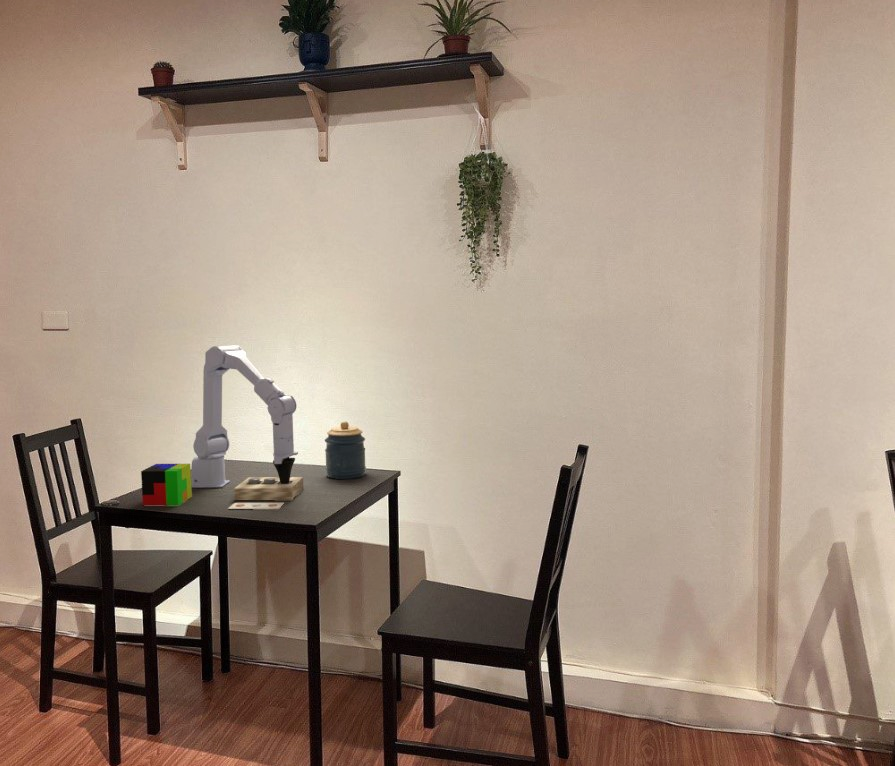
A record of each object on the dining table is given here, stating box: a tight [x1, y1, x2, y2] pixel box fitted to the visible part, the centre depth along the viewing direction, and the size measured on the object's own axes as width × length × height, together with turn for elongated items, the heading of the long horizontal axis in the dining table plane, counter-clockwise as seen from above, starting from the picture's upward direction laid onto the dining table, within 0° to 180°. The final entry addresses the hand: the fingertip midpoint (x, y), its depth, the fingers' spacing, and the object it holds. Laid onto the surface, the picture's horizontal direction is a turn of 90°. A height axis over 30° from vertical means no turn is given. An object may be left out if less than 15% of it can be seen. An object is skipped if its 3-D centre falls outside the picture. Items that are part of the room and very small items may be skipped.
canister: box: [324, 420, 367, 480], centre depth 245 cm, size 13×13×18 cm
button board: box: [233, 476, 304, 501], centre depth 221 cm, size 16×14×4 cm
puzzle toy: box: [140, 463, 193, 506], centre depth 214 cm, size 10×10×10 cm
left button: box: [249, 478, 260, 484], centre depth 221 cm, size 3×3×2 cm
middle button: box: [264, 478, 275, 484], centre depth 221 cm, size 3×3×2 cm
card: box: [227, 502, 285, 510], centre depth 208 cm, size 14×6×1 cm, turn 88°
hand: (284, 483), depth 221 cm, fingers closed, pressing on right button
